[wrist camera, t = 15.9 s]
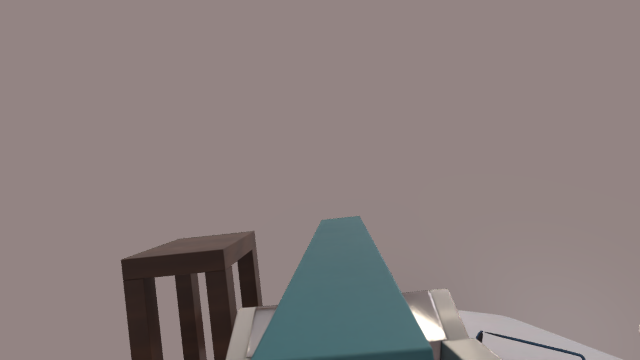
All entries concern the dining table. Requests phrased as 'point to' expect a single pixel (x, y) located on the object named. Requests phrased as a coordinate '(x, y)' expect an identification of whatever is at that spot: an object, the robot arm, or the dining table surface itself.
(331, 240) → the rail
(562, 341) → the dining table surface
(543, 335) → the dining table surface
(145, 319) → the stand
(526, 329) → the dining table surface
